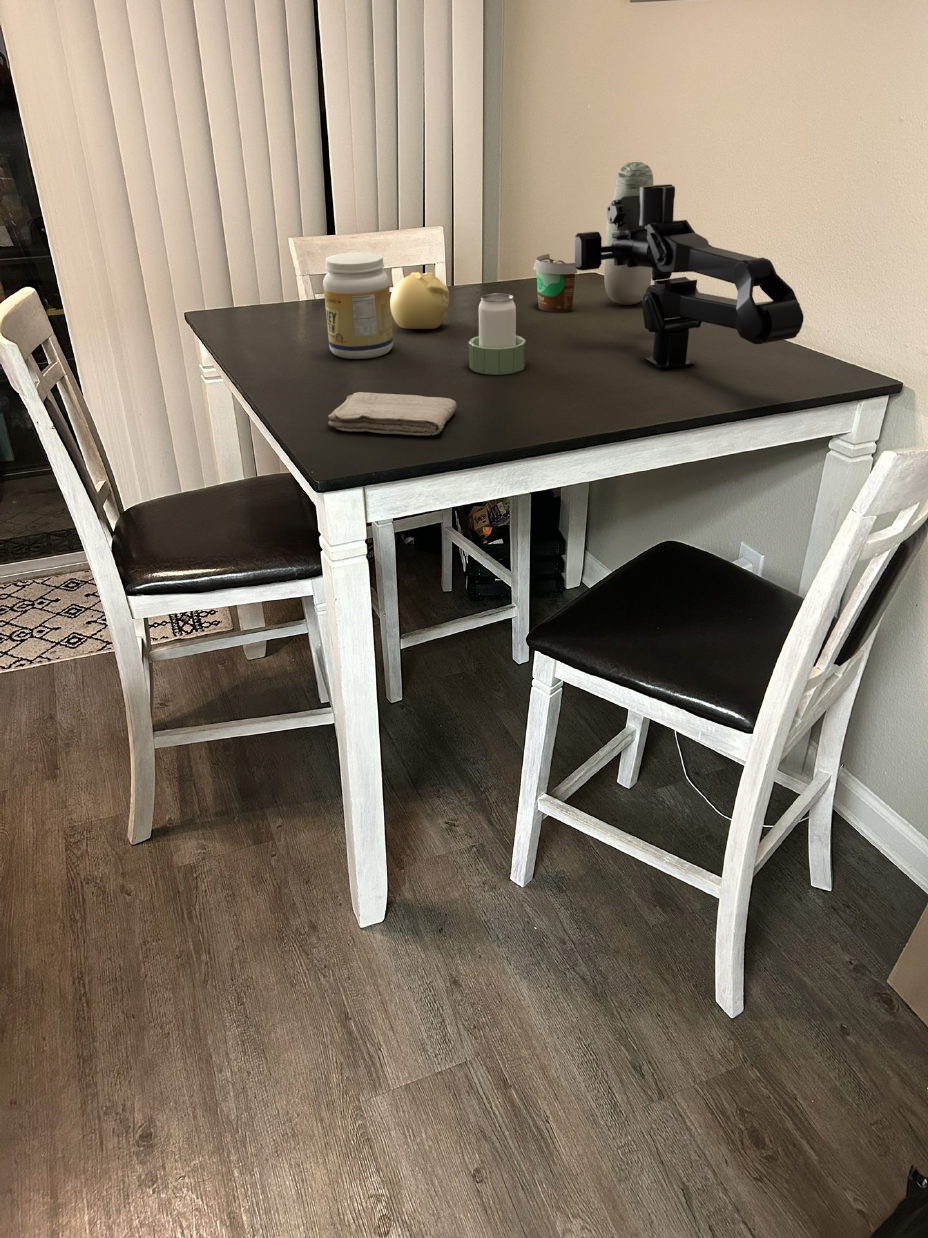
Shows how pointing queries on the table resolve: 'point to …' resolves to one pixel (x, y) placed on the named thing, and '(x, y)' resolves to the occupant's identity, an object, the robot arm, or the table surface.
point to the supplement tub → (358, 305)
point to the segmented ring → (497, 358)
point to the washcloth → (393, 414)
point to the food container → (555, 284)
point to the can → (497, 321)
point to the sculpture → (419, 301)
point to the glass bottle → (619, 280)
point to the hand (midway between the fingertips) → (596, 244)
